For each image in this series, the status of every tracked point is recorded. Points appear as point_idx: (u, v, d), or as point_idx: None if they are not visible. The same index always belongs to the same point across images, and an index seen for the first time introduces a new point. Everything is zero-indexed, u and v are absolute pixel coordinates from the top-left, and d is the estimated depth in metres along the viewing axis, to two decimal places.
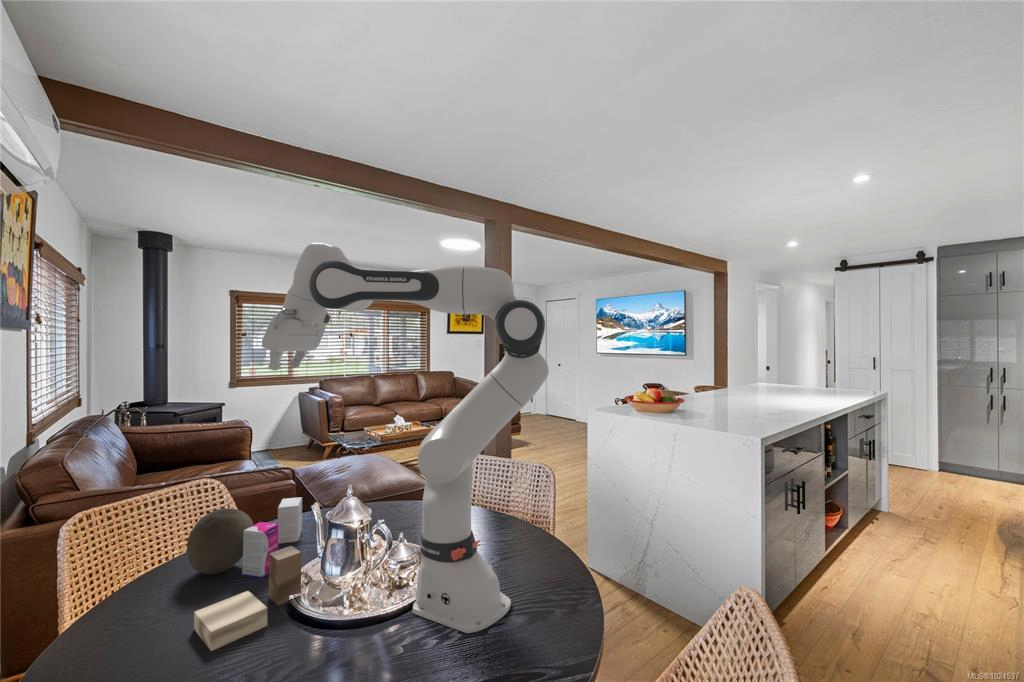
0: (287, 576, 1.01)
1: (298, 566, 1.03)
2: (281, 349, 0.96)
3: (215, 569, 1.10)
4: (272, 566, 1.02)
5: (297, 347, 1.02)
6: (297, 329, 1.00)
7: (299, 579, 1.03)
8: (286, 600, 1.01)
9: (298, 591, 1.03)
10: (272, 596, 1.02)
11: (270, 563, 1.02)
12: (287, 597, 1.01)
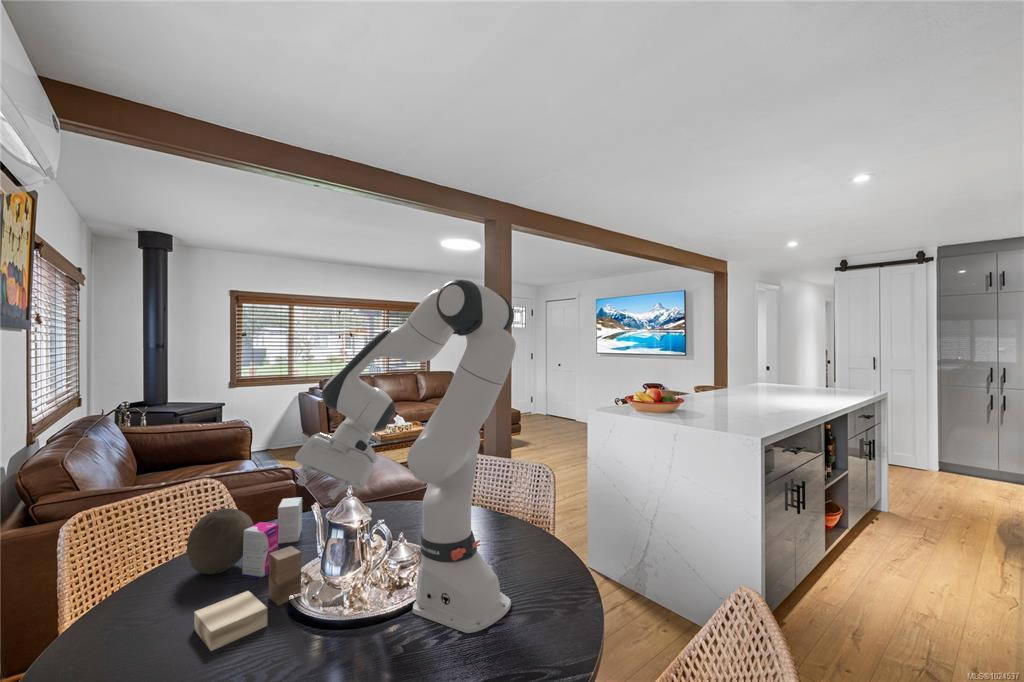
0: (287, 576, 1.01)
1: (299, 566, 1.03)
2: (300, 458, 1.15)
3: (215, 569, 1.10)
4: (272, 566, 1.02)
5: (322, 466, 1.13)
6: (326, 449, 1.17)
7: (299, 579, 1.03)
8: (286, 600, 1.01)
9: (298, 591, 1.03)
10: (272, 596, 1.02)
11: (270, 563, 1.02)
12: (287, 597, 1.01)
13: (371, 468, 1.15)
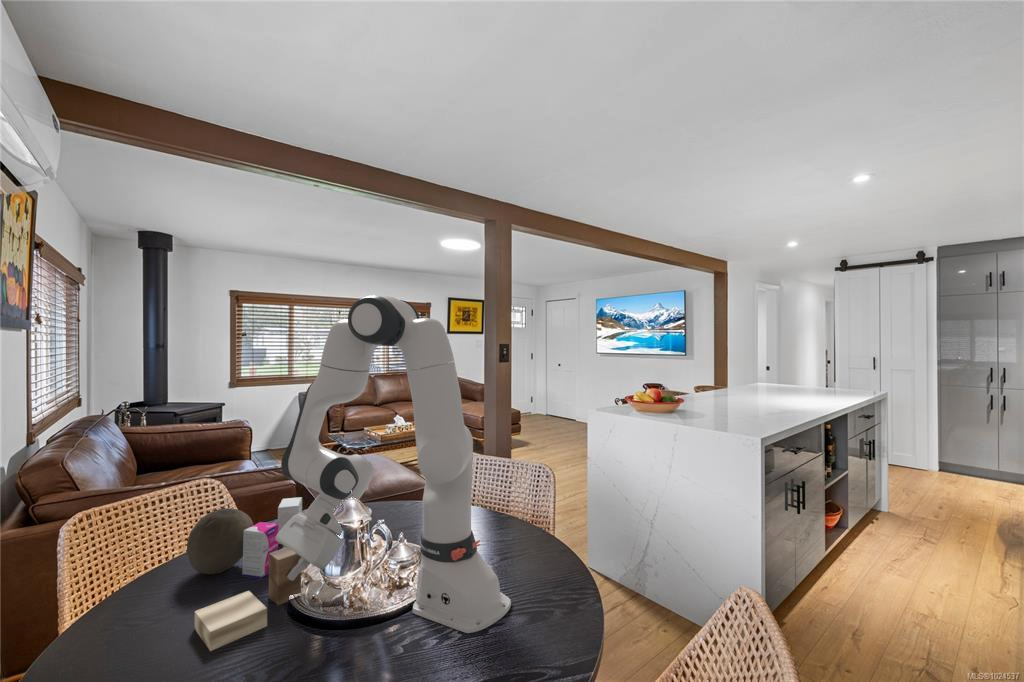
0: None
1: None
2: (278, 538, 1.10)
3: (215, 569, 1.10)
4: (272, 565, 1.02)
5: (292, 545, 1.05)
6: (301, 526, 1.09)
7: (299, 579, 1.03)
8: (286, 600, 1.01)
9: (298, 591, 1.03)
10: (272, 596, 1.02)
11: (270, 563, 1.02)
12: (287, 597, 1.01)
13: (336, 544, 1.03)
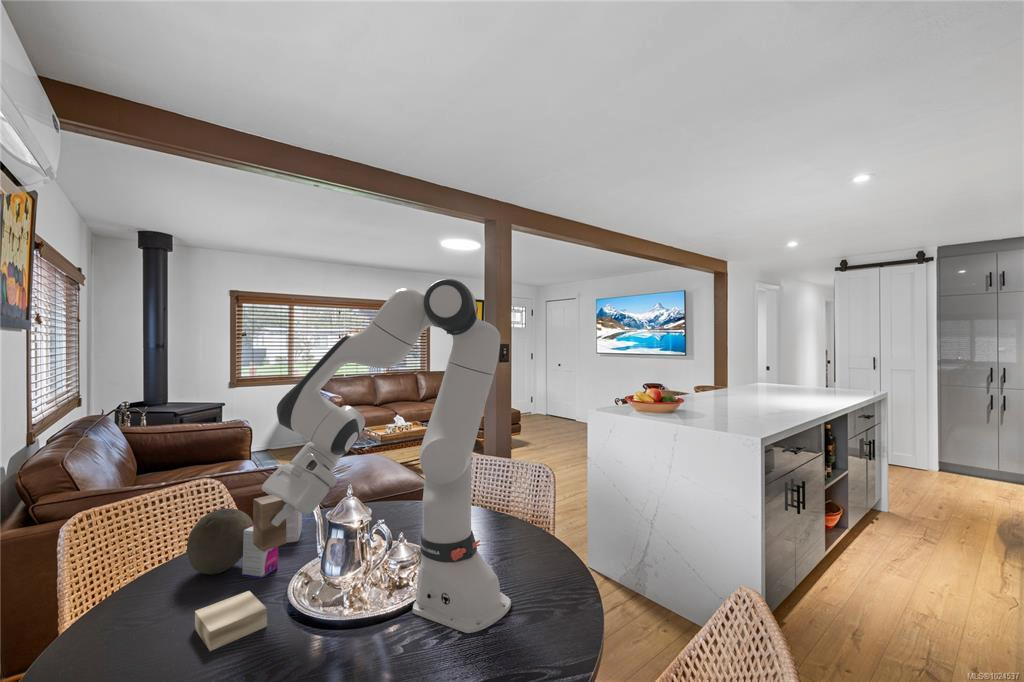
0: None
1: None
2: (264, 487, 1.07)
3: (215, 569, 1.10)
4: (256, 511, 0.99)
5: (278, 492, 1.02)
6: (287, 475, 1.06)
7: (284, 526, 1.00)
8: (270, 546, 0.98)
9: (283, 538, 1.00)
10: (256, 542, 0.99)
11: (254, 509, 0.99)
12: (271, 543, 0.98)
13: (322, 491, 1.00)
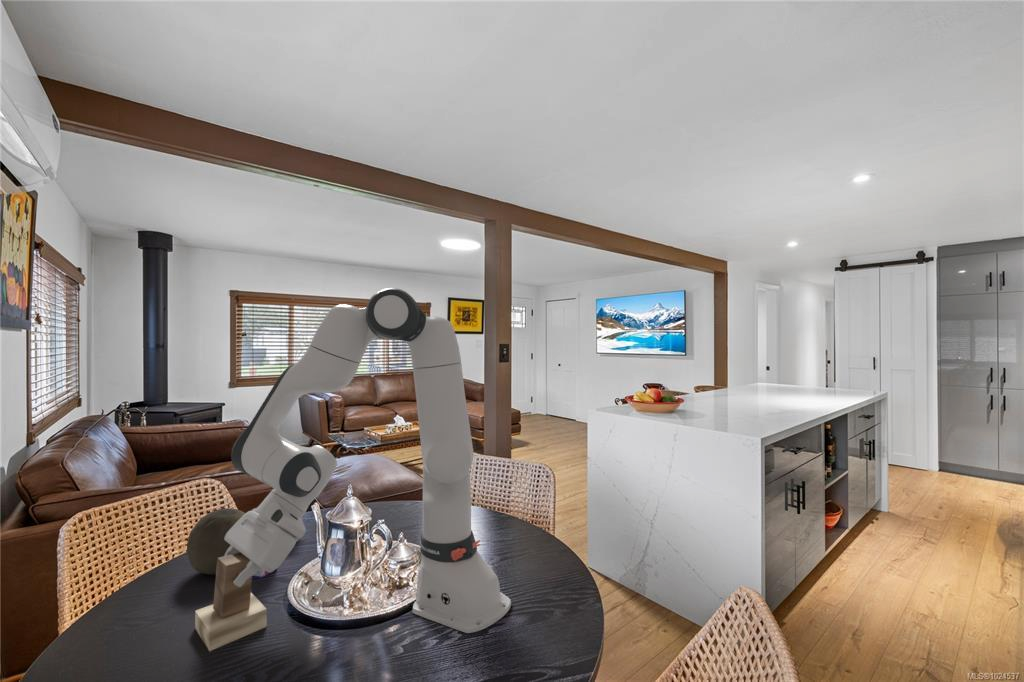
0: None
1: None
2: (227, 537, 0.99)
3: (215, 569, 1.10)
4: (219, 572, 0.91)
5: (240, 545, 0.94)
6: (252, 524, 0.98)
7: (249, 589, 0.92)
8: (231, 612, 0.90)
9: (246, 603, 0.92)
10: (216, 607, 0.91)
11: (217, 569, 0.92)
12: (233, 609, 0.90)
13: (288, 545, 0.92)
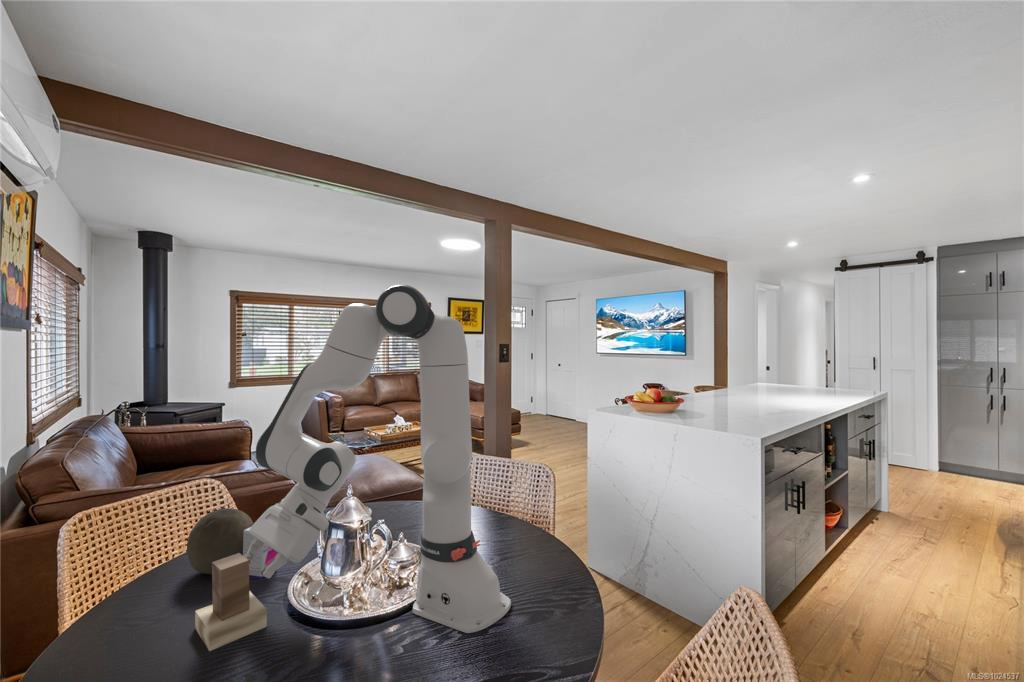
0: (232, 587, 0.90)
1: (246, 576, 0.92)
2: (252, 531, 1.02)
3: None
4: (215, 576, 0.90)
5: (266, 538, 0.98)
6: (276, 518, 1.02)
7: (247, 590, 0.92)
8: (231, 614, 0.90)
9: (246, 604, 0.92)
10: (216, 610, 0.90)
11: (213, 573, 0.91)
12: (232, 611, 0.90)
13: (313, 537, 0.95)
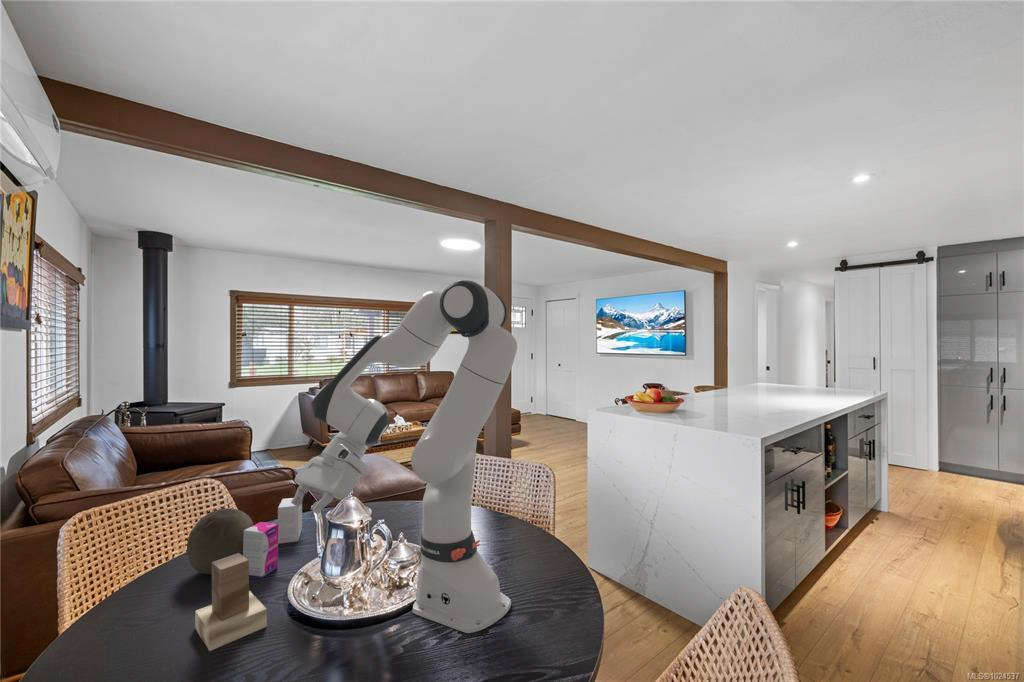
0: (232, 587, 0.90)
1: (246, 576, 0.92)
2: (297, 479, 1.13)
3: None
4: (215, 576, 0.90)
5: (312, 481, 1.09)
6: (319, 466, 1.13)
7: (246, 590, 0.92)
8: (231, 614, 0.90)
9: (245, 604, 0.92)
10: (215, 610, 0.90)
11: (212, 573, 0.91)
12: (232, 611, 0.90)
13: (355, 477, 1.06)
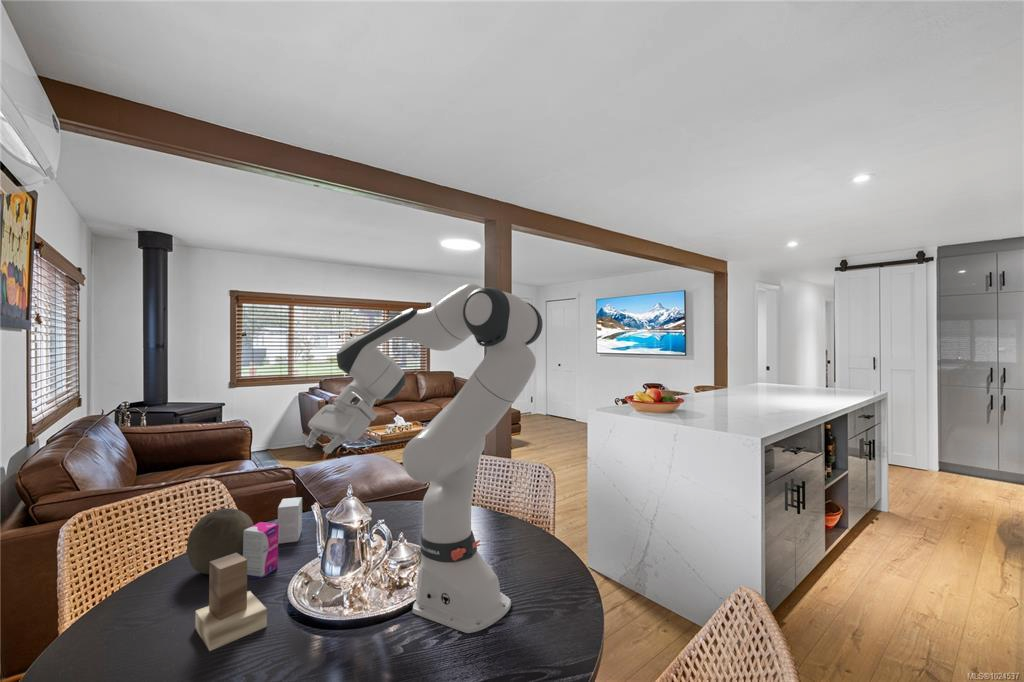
0: (230, 587, 0.90)
1: (244, 576, 0.92)
2: (310, 423, 1.20)
3: None
4: (213, 575, 0.90)
5: (324, 425, 1.16)
6: (331, 412, 1.20)
7: (245, 590, 0.92)
8: (229, 614, 0.90)
9: (243, 603, 0.92)
10: (213, 610, 0.90)
11: (210, 572, 0.91)
12: (230, 610, 0.90)
13: (366, 422, 1.13)
